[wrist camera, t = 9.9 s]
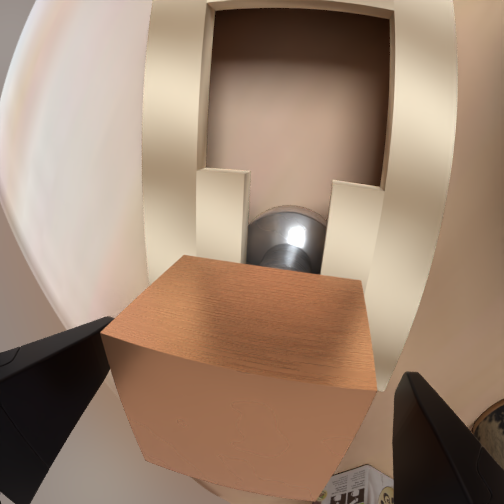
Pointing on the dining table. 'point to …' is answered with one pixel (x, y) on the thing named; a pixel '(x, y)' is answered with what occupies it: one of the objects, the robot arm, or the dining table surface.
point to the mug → (492, 431)
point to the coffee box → (358, 488)
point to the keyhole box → (342, 193)
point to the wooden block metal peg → (248, 363)
